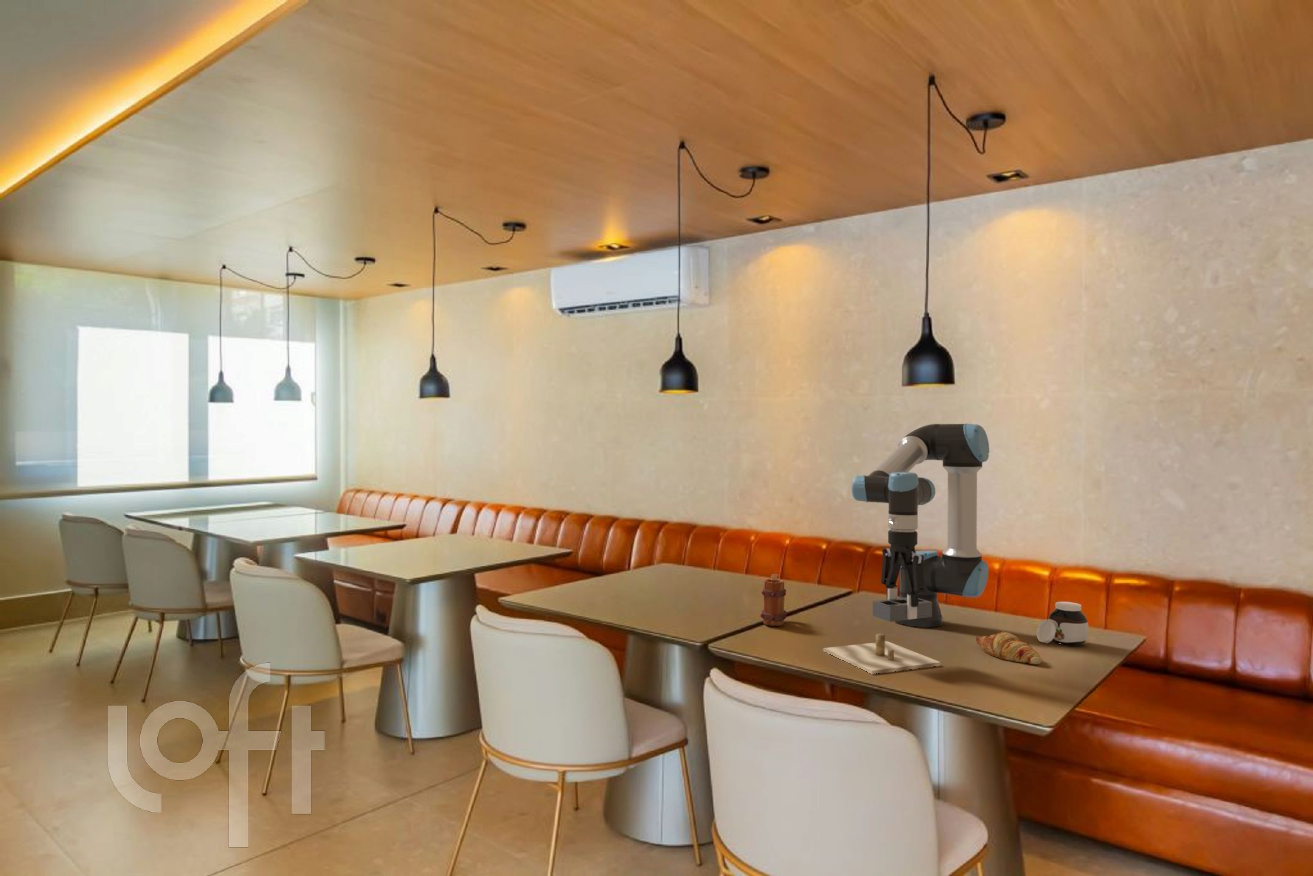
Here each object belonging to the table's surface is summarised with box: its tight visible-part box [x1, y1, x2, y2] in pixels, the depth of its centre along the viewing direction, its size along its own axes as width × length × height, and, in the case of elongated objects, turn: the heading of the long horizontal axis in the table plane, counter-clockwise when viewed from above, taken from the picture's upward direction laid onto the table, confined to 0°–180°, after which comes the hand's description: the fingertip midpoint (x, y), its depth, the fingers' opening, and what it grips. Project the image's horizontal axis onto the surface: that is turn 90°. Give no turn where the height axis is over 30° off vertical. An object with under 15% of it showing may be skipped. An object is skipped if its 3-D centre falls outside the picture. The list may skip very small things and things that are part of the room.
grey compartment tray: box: [872, 597, 932, 623], centre depth 211 cm, size 14×7×4 cm, turn 113°
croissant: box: [975, 631, 1042, 665], centre depth 218 cm, size 21×10×8 cm, turn 27°
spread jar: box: [1035, 601, 1089, 647], centre depth 232 cm, size 12×11×12 cm
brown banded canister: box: [760, 573, 788, 627], centre depth 254 cm, size 15×8×15 cm, turn 168°
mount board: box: [822, 633, 941, 675], centre depth 214 cm, size 22×22×6 cm
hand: (901, 615), depth 211 cm, fingers closed on grey compartment tray, 7 cm apart
